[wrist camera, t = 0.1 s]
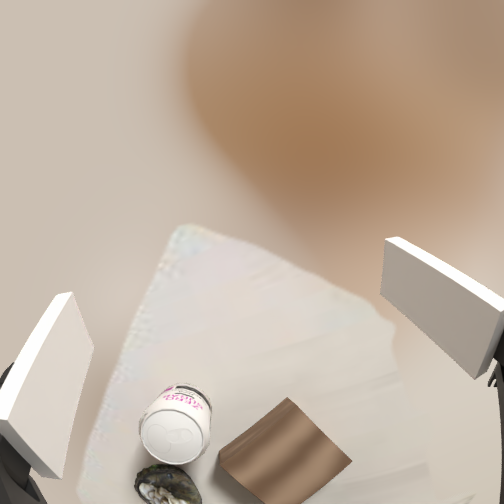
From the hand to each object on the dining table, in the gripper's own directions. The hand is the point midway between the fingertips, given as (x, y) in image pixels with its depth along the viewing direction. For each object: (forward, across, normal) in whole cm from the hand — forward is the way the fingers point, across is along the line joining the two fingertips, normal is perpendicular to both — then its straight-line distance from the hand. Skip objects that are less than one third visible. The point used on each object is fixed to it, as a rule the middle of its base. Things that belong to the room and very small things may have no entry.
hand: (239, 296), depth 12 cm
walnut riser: (+16, -5, +40) cm, 43 cm away
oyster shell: (+14, +15, +43) cm, 48 cm away
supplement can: (+22, +8, +31) cm, 39 cm away
